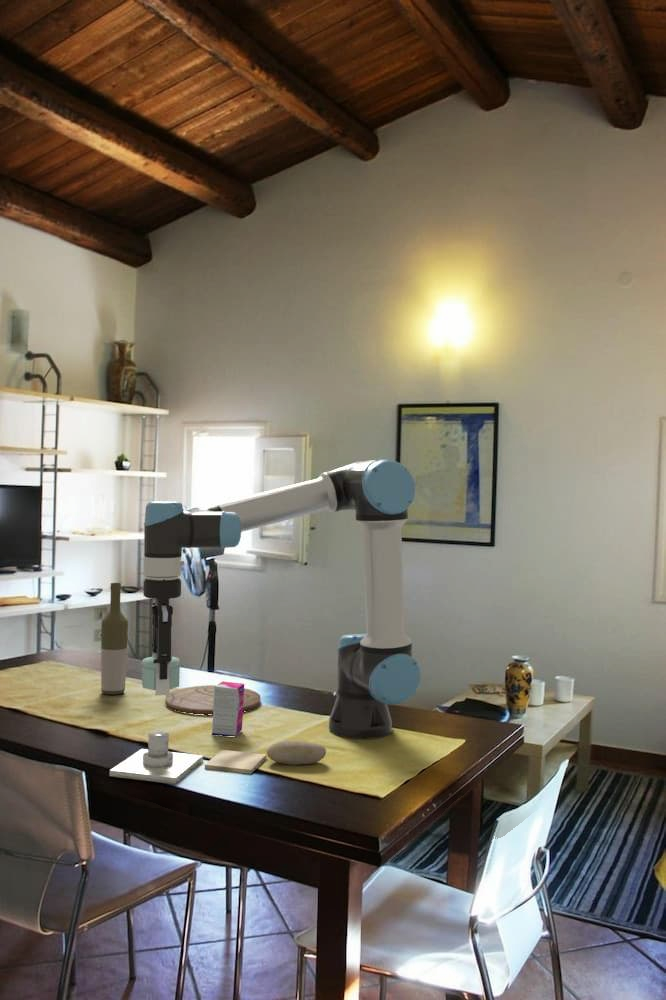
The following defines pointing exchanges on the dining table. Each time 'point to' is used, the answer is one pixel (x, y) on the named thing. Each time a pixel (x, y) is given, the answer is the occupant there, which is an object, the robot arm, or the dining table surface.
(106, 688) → the bottle
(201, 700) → the trivet
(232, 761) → the coaster
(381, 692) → the robot arm
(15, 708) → the dining table surface
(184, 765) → the post
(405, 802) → the dining table surface
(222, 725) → the supplement box
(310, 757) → the stone
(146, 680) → the cap
